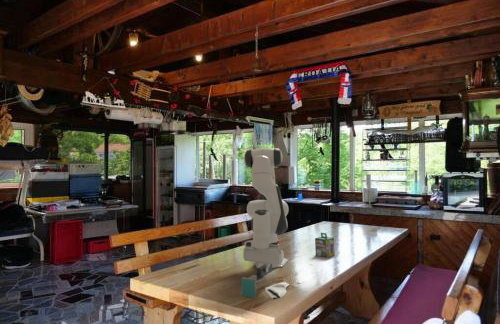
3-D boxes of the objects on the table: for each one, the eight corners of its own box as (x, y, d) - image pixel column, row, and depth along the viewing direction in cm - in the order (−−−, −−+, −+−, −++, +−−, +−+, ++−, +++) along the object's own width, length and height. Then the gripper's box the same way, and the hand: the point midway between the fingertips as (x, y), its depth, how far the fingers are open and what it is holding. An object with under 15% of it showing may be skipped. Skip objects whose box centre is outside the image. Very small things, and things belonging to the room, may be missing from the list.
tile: (243, 294, 164) (243, 277, 164) (256, 296, 161) (256, 279, 161) (241, 295, 163) (241, 278, 163) (255, 298, 159) (254, 280, 159)
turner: (264, 270, 182) (264, 262, 182) (275, 271, 179) (275, 263, 179) (245, 281, 164) (244, 272, 164) (256, 283, 161) (256, 274, 161)
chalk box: (335, 255, 232) (334, 232, 232) (326, 257, 226) (325, 234, 226) (323, 252, 239) (323, 230, 239) (315, 255, 233) (314, 232, 233)
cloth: (276, 281, 183) (276, 277, 184) (301, 285, 176) (301, 280, 177) (251, 298, 161) (251, 293, 161) (278, 303, 154) (278, 298, 154)
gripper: (284, 244, 171) (284, 272, 171) (247, 240, 181) (248, 267, 181) (278, 246, 166) (279, 276, 165) (241, 242, 176) (241, 270, 176)
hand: (262, 271), depth 173 cm, fingers closed on turner, 2 cm apart
